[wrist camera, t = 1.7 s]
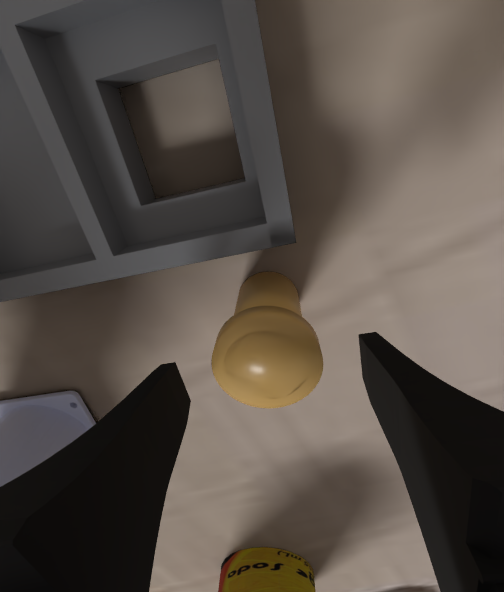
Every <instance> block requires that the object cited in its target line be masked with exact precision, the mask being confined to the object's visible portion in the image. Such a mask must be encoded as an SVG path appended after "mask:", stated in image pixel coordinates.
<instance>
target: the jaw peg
mask: <svg viewBox="0 0 504 592" xmlns="http://www.w3.org/2000/svg"><path fill="white" fill-rule="evenodd" d="M212 370H213V374H214V376H215V379H216V381H217V382H218V384H219V385H220V387H221V388H222V389H223V390H224V391H225V392H226V393H227V394H228V395H230V396H231V397H232V398H234V399H236V400H237V401H239V402H241V403H244V404H247V405H250V406H254V407H259V408H278V407H284V406H287V405H291V404H293V403H296V402H298V401H299V400H301V399H303V398H304V397H306V396H307V395H308V394H309V393H310V392H311V391H312V390H313V389H314V388H315V387H316V385H317V384H318V382H319V380H320V378H321V375H322V371H323V358H322V353H321V349H320V345H319V341H318V337H317V335H316V333H315V331H314V329H313V328H312V326H311V325H310V324H309V323H308V322H307V321H306V320H305V319H304V318H303V317H302V314H301V308H300V303H299V297H298V292H297V289H296V287H295V286H294V284H293V283H292V281H290V280H289V279H288V278H287V277H285V276H284V275H282V274H279V273H276V272H261V273H257V274H255V275H253V276H251V277H250V278H248V279H247V280H246V281H245V282H244V283H243V285H242V287H241V289H240V291H239V295H238V300H237V304H236V309H235V313H234V316H232V317H231V318H230V319H229V320H228V321H227V322H226V323H225V324H224V325H223V326H222V328H221V330H220V332H219V334H218V336H217V340H216V343H215V347H214V350H213V355H212Z"/></svg>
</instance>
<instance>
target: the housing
mask: <svg viewBox="0 0 504 592" xmlns="http://www.w3.org/2000/svg"><path fill="white" fill-rule="evenodd" d="M216 59H219V61H220V66H221V71H222V75H223V80H224V84H225V89H226V93H227V98H228V102H229V107H230V111H231V116H232V121H233V125H234V130H235V134H236V139H237V143H238V148H239V152H240V157H241V161H242V166H243V170H244V175H245V178H243V179H239V180H235V181H230V182H226V183H222V184H218V185H213V186H209V187H205V188H201V189H196V190H192V191H188V192H184V193H179V194H175V195H171V196H167V197H163V198H158V199H156V198H155V195H154V193H153V190H152V187H151V184H150V181H149V178H148V175H147V172H146V169H145V166H144V163H143V160H142V157H141V154H140V152H139V149H138V146H137V143H136V140H135V137H134V134H133V131H132V128H131V125H130V122H129V119H128V116H127V113H126V110H125V108H124V105H123V102H122V99H121V96H120V93H119V90H118V88H121V87H124V86H128V85H131V84H135V83H138V82H141V81H145V80H148V79H151V78H155V77H158V76H162V75H165V74H168V73H172V72H175V71H178V70H182V69H185V68H189V67H192V66H195V65H199V64H202V63H206V62H209V61H212V60H216ZM292 243H296V239H295V233H294V227H293V221H292V215H291V209H290V204H289V198H288V192H287V186H286V180H285V174H284V168H283V162H282V157H281V151H280V145H279V139H278V133H277V127H276V121H275V115H274V110H273V104H272V98H271V92H270V86H269V80H268V74H267V68H266V63H265V57H264V51H263V45H262V39H261V33H260V27H259V21H258V16H257V10H256V4H255V0H0V302H3V301H8V300H13V299H18V298H23V297H28V296H33V295H38V294H43V293H48V292H53V291H58V290H63V289H68V288H73V287H78V286H83V285H88V284H93V283H98V282H103V281H108V280H113V279H118V278H123V277H128V276H133V275H138V274H143V273H148V272H153V271H157V270H162V269H167V268H172V267H177V266H182V265H187V264H192V263H197V262H202V261H207V260H212V259H217V258H222V257H227V256H232V255H237V254H242V253H247V252H252V251H257V250H262V249H267V248H272V247H277V246H282V245H287V244H292Z"/></svg>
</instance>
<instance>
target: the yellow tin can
mask: <svg viewBox="0 0 504 592" xmlns="http://www.w3.org/2000/svg"><path fill="white" fill-rule="evenodd" d="M218 592H315V583H314V574H313V569H312V567H311V566H310V564H309V563H308V562H307V561H306V560H304V559H303V558H302V557H301V556H298V555H296V554H294V553H292V552H289V551H286V550H282V549H277V548H269V547H257V548H249V549H244V550H240V551H238V552H235V553H233V554H231V555H230V556H228V557H227V558H226V559H225V560H224V562H223V563H222V566H221V574H220V582H219V591H218Z"/></svg>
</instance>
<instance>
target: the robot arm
mask: <svg viewBox="0 0 504 592" xmlns="http://www.w3.org/2000/svg"><path fill="white" fill-rule="evenodd" d="M359 344H360V354H361V365H362V375H363V380H364V383H365V387H366V390H367V393H368V396H369V399H370V402H371V405H372V407H373V409H374V411H375V414H376V416H377V418H378V420H379V423H380V425H381V427H382V429H383V431H384V434H385V436H386V438H387V440H388V442H389V445H390V447H391V449H392V451H393V453H394V456H395V458H396V460H397V463H398V465H399V468H400V470H401V473H402V476H403V478H404V481H405V484H406V487H407V490H408V493H409V496H410V499H411V502H412V505H413V508H414V511H415V514H416V517H417V520H418V523H419V526H420V529H421V532H422V535H423V538H424V541H425V544H426V547H427V550H428V553H429V556H430V560H431V563H432V566H433V569H434V572H435V575H436V578H437V582H438V585H439V588H440V591H441V592H504V412H503V411H501V410H499V409H496V408H494V407H492V406H490V405H488V404H486V403H483V402H481V401H479V400H477V399H475V398H473V397H471V396H469V395H467V394H465V393H464V392H462V391H460V390H458V389H456V388H454V387H453V386H451V385H449V384H447V383H445V382H444V381H442V380H440V379H439V378H437V377H436V376H434V375H433V374H431V373H429V372H428V371H426V370H425V369H423V368H422V367H421V366H419V365H418V364H416V363H415V362H414V361H412V360H411V359H409V358H408V357H407V356H405V355H404V354H403V353H401V352H400V351H399V350H398V349H396V348H395V347H394V346H393V345H391V344H390V343H389V342H388V341H387V340H385V339H384V338H383V337H382V336H380V335H379V334H378V333H376V332H372V333H365V334H359ZM190 402H191V400H190V398H189V395H188V393H187V390H186V388H185V385H184V383H183V380H182V378H181V375H180V373H179V370H178V368H177V365H176V363H175V362H174V363H167V364H161V365H160V366H159V367H158V368H156V369H155V370H154V371H153V372H152V373H151V374H150V375H149V376H148V377H147V378H146V379H145V380H143V381H142V382H141V383H140V384H139V385H138V386H137V387H136V388H135V389H134V390H133V391H132V392H131V393H130V394H129V395H128V396H127V397H126V398H125V399H124V400H122V401H121V402H120V403H119V404H118V405H117V406H116V407H115V408H113V409H112V410H111V411H110V412H109V413H108V414H107V415H106V416H104V417H103V418H102V419H101V420H100V421H99V422H97V423H96V422H95V421H94V419H93V417H92V415H91V414H90V412H89V410H88V409H87V407H86V405H85V404H84V402H83V400H82V398H81V397H80V395H79V394H78V393H77V392H75V391H64V392H57V393H50V394H44V395H37V396H30V397H23V398H17V399H10V400H3V401H0V592H149V587H150V581H151V574H152V567H153V561H154V554H155V548H156V543H157V537H158V532H159V526H160V521H161V516H162V511H163V506H164V501H165V497H166V492H167V488H168V484H169V481H170V477H171V474H172V471H173V468H174V465H175V461H176V458H177V455H178V452H179V449H180V445H181V442H182V439H183V435H184V432H185V429H186V425H187V420H188V415H189V408H190Z"/></svg>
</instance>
